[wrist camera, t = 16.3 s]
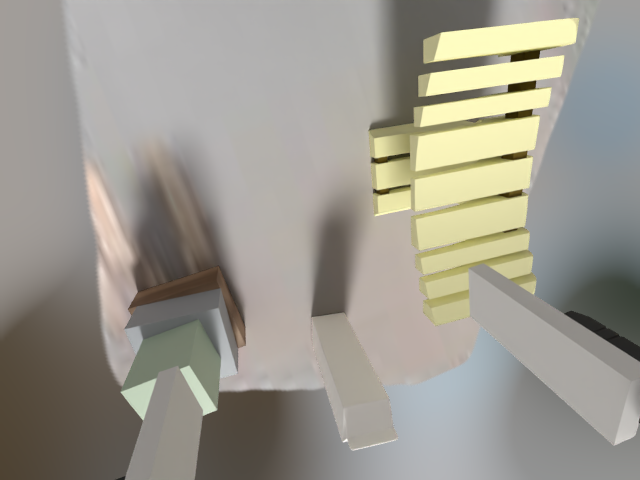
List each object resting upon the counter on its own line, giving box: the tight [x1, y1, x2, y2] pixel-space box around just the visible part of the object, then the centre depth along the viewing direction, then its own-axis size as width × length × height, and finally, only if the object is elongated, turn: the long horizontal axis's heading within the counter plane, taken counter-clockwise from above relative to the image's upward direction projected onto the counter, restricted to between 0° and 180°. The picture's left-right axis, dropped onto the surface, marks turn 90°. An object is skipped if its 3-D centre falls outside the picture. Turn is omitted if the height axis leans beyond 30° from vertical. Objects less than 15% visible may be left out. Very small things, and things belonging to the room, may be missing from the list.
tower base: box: [128, 266, 246, 348], centre depth 48 cm, size 12×12×5 cm
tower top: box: [124, 288, 238, 378], centre depth 43 cm, size 11×11×5 cm
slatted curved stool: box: [369, 18, 579, 326], centre depth 41 cm, size 30×16×18 cm, turn 7°
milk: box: [312, 312, 398, 450], centre depth 47 cm, size 6×6×22 cm
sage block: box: [121, 319, 221, 420], centre depth 37 cm, size 7×7×8 cm
